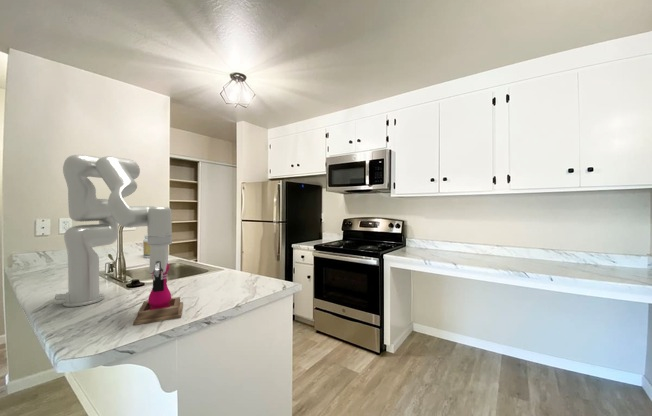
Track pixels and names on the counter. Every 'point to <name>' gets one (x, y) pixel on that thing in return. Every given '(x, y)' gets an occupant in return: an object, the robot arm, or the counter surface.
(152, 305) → the pepper mill
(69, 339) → the counter surface
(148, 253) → the supplement tub
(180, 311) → the wooden tray
